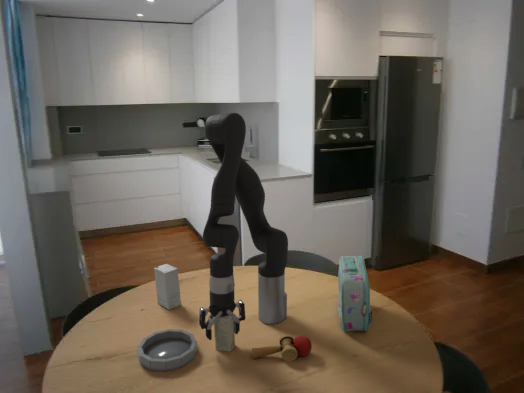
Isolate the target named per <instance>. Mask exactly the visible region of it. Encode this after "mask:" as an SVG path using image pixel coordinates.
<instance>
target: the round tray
mask: <svg viewBox="0 0 524 393" xmlns="http://www.w3.org/2000/svg"><path fill="white" fill-rule="evenodd" d="M197 343H198V341H197V339H196V338H195V336H194V334H193V333H191V332H189V331H187V330H184V329H175V328H173V329H171V328H167V329H164V330H159V331H155V332H153V333H151V334H149V335H147V336H146V337H144V338H143V339H142V340H140V343H139V344H138V346H137V354H138V362H139V364H140V365H141V366H142V367H143V368H144V369H147V370H149V371H153V372H168V371H169V372H170V371H175V370H177V369H180V368H183V367H185V366H187V365H188V364H189V363H190V362H192V361H193V360H194V358H195V357H196V355H197V351H198V350H197V349H198V344H197Z"/></svg>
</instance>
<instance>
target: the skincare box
mask: <svg viewBox="0 0 524 393" xmlns="http://www.w3.org/2000/svg"><path fill="white" fill-rule="evenodd" d="M153 270H154V280H155V289H156V300H157V304H159V305H160V306H162V307H163V308H165V309H166V310H169V311H170V310H172V309H174V308H177V307H180V306H181V305H182V299H181V289H180V280H179V270H178V267H175V266H172V265H170V264H169V263H164V264H162V265H161V264H160V265H157V266H156V267H154V268H153Z"/></svg>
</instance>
